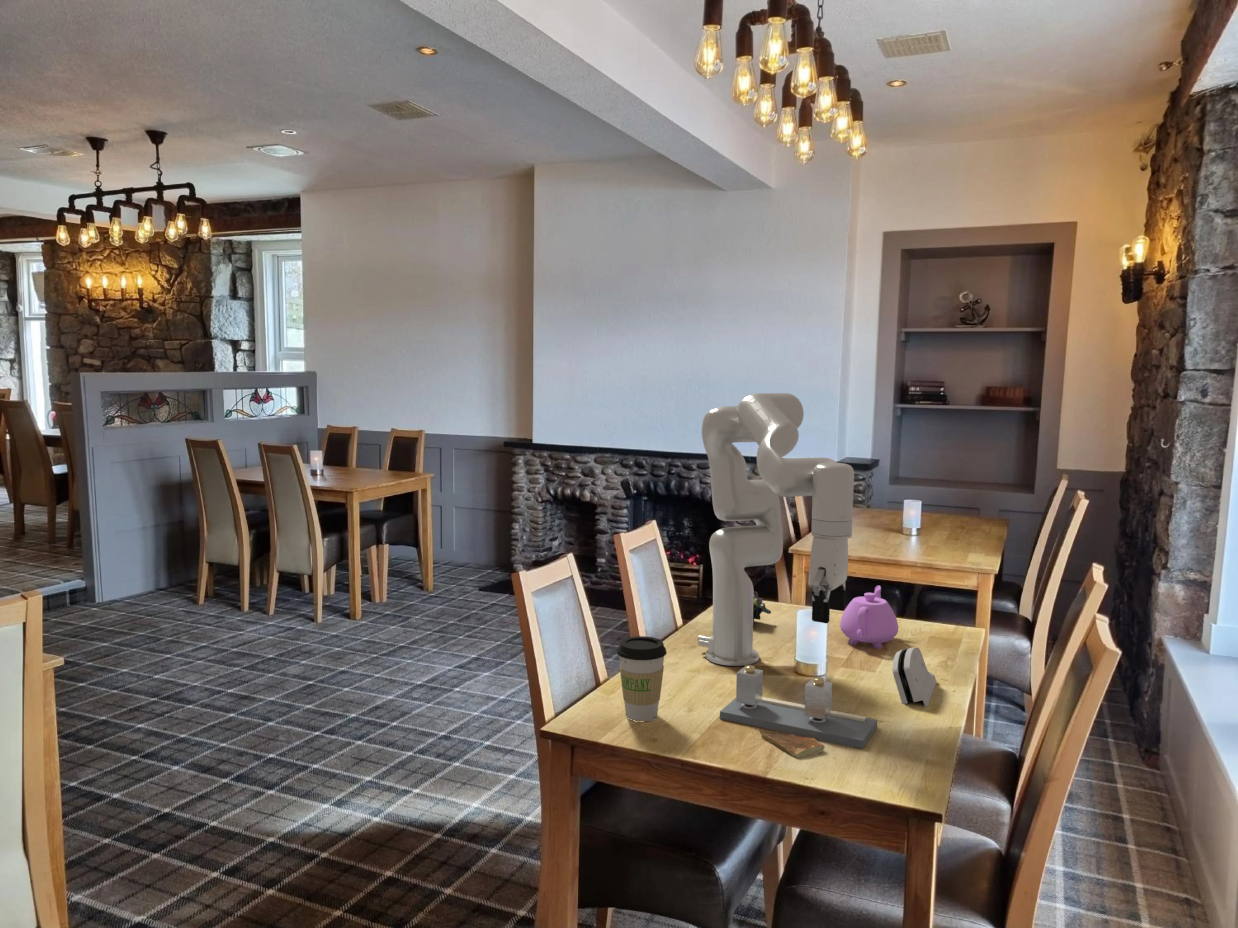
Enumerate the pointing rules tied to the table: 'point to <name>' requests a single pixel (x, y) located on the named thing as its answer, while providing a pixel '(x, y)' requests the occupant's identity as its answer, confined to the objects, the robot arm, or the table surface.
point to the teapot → (869, 620)
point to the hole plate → (802, 721)
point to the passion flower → (758, 607)
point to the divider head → (818, 698)
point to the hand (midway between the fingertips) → (828, 615)
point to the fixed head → (749, 685)
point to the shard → (794, 743)
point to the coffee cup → (641, 676)
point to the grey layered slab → (913, 676)
